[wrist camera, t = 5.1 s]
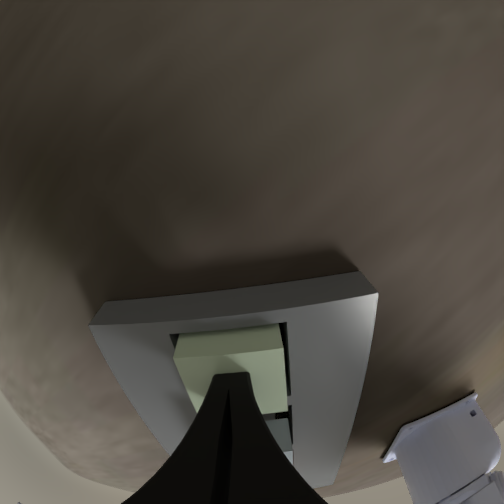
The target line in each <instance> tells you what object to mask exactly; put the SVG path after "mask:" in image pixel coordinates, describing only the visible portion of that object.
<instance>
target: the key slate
mask: <svg viewBox="0 0 504 504" xmlns="http://www.w3.org/2000/svg"><path fill="white" fill-rule="evenodd" d="M262 416H263V418H264V420H265V422H266V424H267V426H268V428H269V430H270V431H271V433H272V435H273V437H274V438H275V440H276V442H277V443H278V445H279V446H280V448H281V450H282V451H283V453H284V454H285V455H286V457H287V458H288V460H289V461H290V462H291V464H292V465H293V449H292V443H291V437H290V430H289V424H288V418H284V419H276V420H275V413H269V414H262Z"/></svg>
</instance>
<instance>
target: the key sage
mask: <svg viewBox="0 0 504 504" xmlns="http://www.w3.org/2000/svg"><path fill="white" fill-rule="evenodd" d="M173 359H174V362H175V364H176V367H177V369H178V372H179V374H180V376H181V379H182V381H183V383H184V386H185V388H186V390H187V393H188V395H189V397H190V399H191V401H192V403H193V406H194V408H195V410H196V412H197V413H198V411H199V409H200V407H201V405H202V403H203V400H204V398H205V396H206V394H207V391H208V389H209V386H210V383H211V381H212V378H213V376H214V375H215V374H223V373H235V372H245V371H247V372H249V373H250V377H251V382H252V387H253V392H254V396H255V399H256V402H257V404H258V407H259V409H260V411H261V414H269V413H277V412H284V411H288V405H287V390H286V376H285V362H284V349H283V343H282V338H281V333H280V329H279V324H278V323H274V324H267V325H259V326H251V327H242V328H233V329H224V330H213V331H202V332H190V333H180V334H179V338H178V341H177V345H176V349H175V352H174V356H173Z"/></svg>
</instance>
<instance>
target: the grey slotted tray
mask: <svg viewBox="0 0 504 504" xmlns="http://www.w3.org/2000/svg"><path fill="white" fill-rule="evenodd" d="M377 301H378V292H377V291H376V289H375V288H374V287H373V286H372V285H371V283H370V282H369V281H368V280H367V279H366V277H365V276H364V275H363V274H362V273H361V271H356V272H350V273H344V274H338V275H331V276H325V277H318V278H311V279H304V280H297V281H290V282H283V283H276V284H268V285H261V286H253V287H245V288H237V289H229V290H220V291H211V292H203V293H193V294H184V295H174V296H164V297H154V298H143V299H132V300H120V301H107V302H104V304H103V305H102V306H101V308H100V309H99V311H98V312H97V313H96V315H95V316H94V318H93V319H92V320H91V322H90V323H89V325H88V326H89V328H90V330H91V332H92V335H93V337H94V339H95V341H96V343H97V345H98V347H99V349H100V350H101V352H102V354H103V356H104V358H105V360H106V362H107V364H108V365H109V367H110V369H111V371H112V372H113V374H114V376H115V378H116V379H117V381H118V383H119V384H120V386H121V388H122V389H123V391H124V392H125V394H126V396H127V397H128V399H129V400H130V402H131V403H132V405H133V406H134V408H135V409H136V411H137V412H138V414H139V415H140V417H141V418H142V420H143V421H144V423H145V424H146V425H147V427H148V428H149V429H150V431H151V432H152V434H153V435H154V436H155V438H156V439H157V440H158V441H159V443H160V444H161V445H162V447H163V448H164V449H165V450H166V452H167V453H168V454H169V455H170V456H171V455H172V453H173V452H174V451H175V449H176V448H177V446H178V445H179V443H180V442H181V440H182V439H183V437H184V436H185V434H186V432H187V431H188V429H189V427H190V426H191V424H192V422H193V420H194V419H195V417H196V415H197V412H196V410H195V408H194V406H193V403H192V401H191V399H190V397H189V395H188V393H187V390H186V388H185V386H184V383H183V381H182V379H181V376H180V374H179V372H178V369H177V367H176V364H175V362H174V359H173V356H174V352H175V349H176V345H177V341H178V338H179V334H180V333H190V332H202V331H213V330H224V329H233V328H242V327H251V326H259V325H267V324H274V323H281V322H283V334H284V347H285V361H286V368H285V376H286V390H287V405H288V406H289V420H288V424H289V430H290V437H291V443H292V449H293V466H294V468H295V469H296V470H297V471H298V472H299V474H300V475H301V476H302V477H303V478H304V480H305V481H306V482H307V483H308V484H309V485H310V486H311V487H312V488H318V487H323V486H327V485H332V484H333V483H334V480H335V478H336V475H337V472H338V470H339V467H340V464H341V461H342V458H343V455H344V452H345V449H346V446H347V443H348V440H349V436H350V433H351V430H352V426H353V423H354V419H355V416H356V412H357V408H358V404H359V400H360V396H361V392H362V388H363V383H364V379H365V374H366V369H367V364H368V359H369V354H370V348H371V342H372V336H373V330H374V323H375V316H376V309H377Z"/></svg>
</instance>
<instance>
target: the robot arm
mask: <svg viewBox="0 0 504 504" xmlns="http://www.w3.org/2000/svg"><path fill="white" fill-rule="evenodd" d="M477 396H478V394H477V393H476V392H475V393H473V394H471V395H470V396H468V397H466V398H464V399H462V400H460V401H458V402H456V403H454V404H452V405H450V406H448V407H446V408H444V409H442V410H440V411H438V412H435V413H433V414H431V415H429V416H426V417H424V418H422V419H419V420H417V421H414V422H412V423H409V424H407V425H404V426H403V427H402V428H401V429H400V431H399V432H398V434H397V436H396V438H395V440H394V441H393V443H392V445H391V447H390V448H389V450H388V452H387V453H386V455H385V457H384V458H383V460H382V461H383V463H386V462H389V461H392V460H395V459H397V461H398V463H399V466H400V469H401V471H402V474H403V476H404V479H405V482H406V484H407V487H408V490H409V492H410V495H411V498H412V501H413V504H504V472H502V471H494V472H493V473H492V474H491V472H489V471H490V470H492V469H493V468H494V467H495V466H496V464H497V463H498V461H499V459H500V455H501V444H500V440H499V437H498V435H497V433H496V432H495V430H494V428H493V427H492V425H491V424H490V422H489V420H488V419H487V417H486V416H485V414H484V413H483V411H482V410H481V408H480V407H479V405H478V404H477V402H476V401H475V399H476V398H477ZM488 472H489V473H488ZM18 504H21V503H20V502H18ZM121 504H328V503H327V502H326V501H325V500H323V498H321V497H320V496H319V495H318V494H317V493H316V492H315V491H314V489H313V488H312V487H311V486H310V485H309V484H308V483H307V482H306V481H305V480H304V478H303V477H302V476H301V475H300V474H299V472H298V471H297V470H296V469H295V468H294V466H293V465H292V464H291V462H290V461H289V460H288V458H287V457H286V455H285V454H284V453H283V451H282V450H281V448H280V446H279V445H278V443H277V442H276V440H275V438H274V437H273V435H272V433H271V431H270V430H269V428H268V426H267V424H266V422H265V420H264V418H263V416H262V414H261V411H260V409H259V407H258V404H257V402H256V399H255V396H254V392H253V387H252V382H251V377H250V373H249V372H247V371H245V372H235V373H223V374H215V375H214V376H213V378H212V381H211V383H210V386H209V389H208V391H207V394H206V396H205V398H204V400H203V403H202V405H201V407H200V409H199V411H198V413H197V415H196V417H195V419H194V420H193V422H192V424H191V426H190V427H189V429H188V431H187V432H186V434H185V436H184V437H183V439H182V440H181V442H180V443H179V445H178V446H177V448H176V449H175V451H174V452H173V453H172V455H171V456H170V457H169V458H168V460H167V461H166V462H165V463H164V464H163V466H162V467H161V468H160V469H159V470H158V471H157V472H156V474H155V475H154V476H153V477H152V478H151V479H150V480H148V481H147V482H146V483H145V484H144V485H143V486H142V487H141V488H140V489H139V490H138V491H137V492H136V493H134V494H133V495H132V496H131V497H130V498H128V499H127V500H125V501H124V502H123V503H121Z"/></svg>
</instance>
